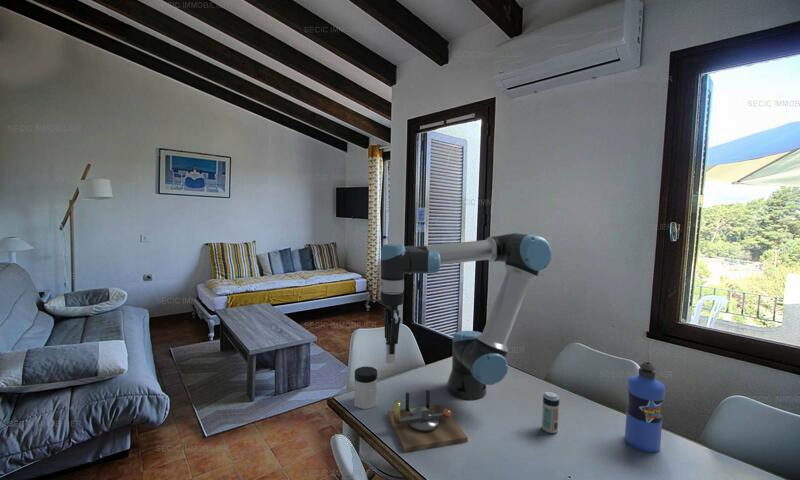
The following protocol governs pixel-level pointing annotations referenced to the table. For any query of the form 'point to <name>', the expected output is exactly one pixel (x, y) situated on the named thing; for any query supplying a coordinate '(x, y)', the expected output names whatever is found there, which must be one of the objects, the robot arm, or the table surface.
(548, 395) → the supplement bottle
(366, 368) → the jar
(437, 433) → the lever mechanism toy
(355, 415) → the table surface
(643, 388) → the water bottle
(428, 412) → the grey metal domed piece
